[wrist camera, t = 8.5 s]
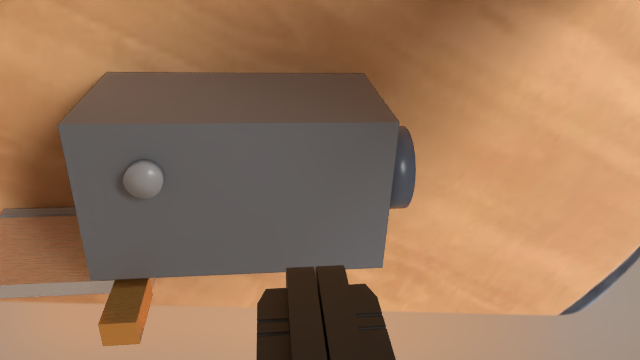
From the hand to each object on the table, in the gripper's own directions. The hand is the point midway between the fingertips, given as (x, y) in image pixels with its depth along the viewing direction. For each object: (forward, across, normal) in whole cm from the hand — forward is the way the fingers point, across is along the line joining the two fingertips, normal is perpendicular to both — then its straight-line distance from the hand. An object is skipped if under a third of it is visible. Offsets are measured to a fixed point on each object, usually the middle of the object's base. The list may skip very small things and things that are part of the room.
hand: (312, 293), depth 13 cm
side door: (+24, +15, +12) cm, 31 cm away
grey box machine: (+25, +7, +7) cm, 27 cm away
